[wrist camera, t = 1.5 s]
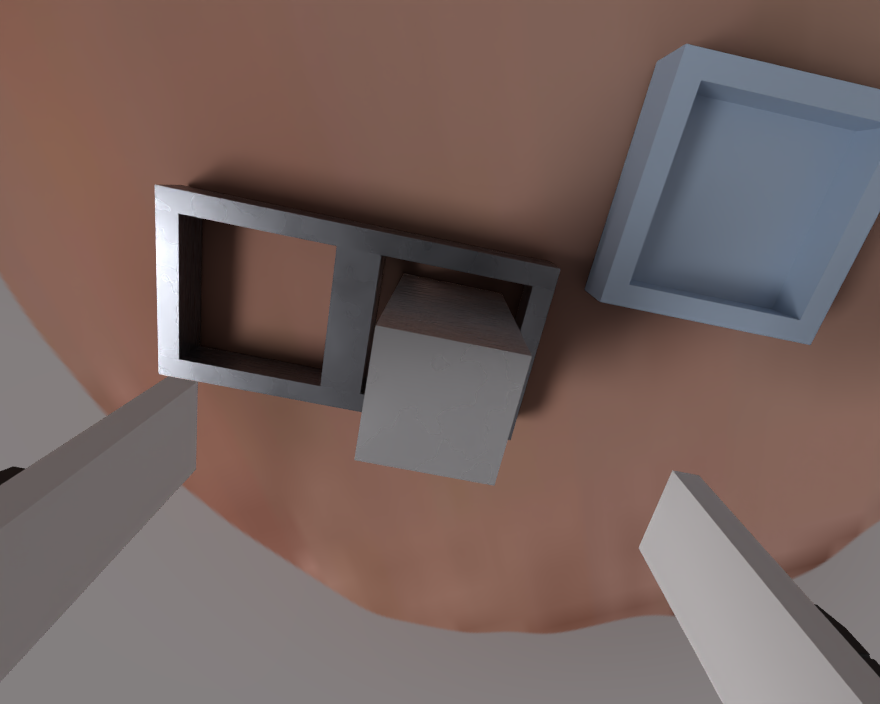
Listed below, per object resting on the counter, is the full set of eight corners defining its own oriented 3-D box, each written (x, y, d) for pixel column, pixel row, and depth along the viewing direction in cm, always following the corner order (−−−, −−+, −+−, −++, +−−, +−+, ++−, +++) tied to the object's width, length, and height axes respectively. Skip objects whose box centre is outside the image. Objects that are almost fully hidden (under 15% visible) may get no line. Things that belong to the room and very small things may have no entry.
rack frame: (181, 184, 21) (154, 184, 19) (551, 261, 22) (560, 268, 20) (181, 359, 24) (158, 373, 22) (505, 421, 25) (510, 440, 23)
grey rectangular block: (403, 273, 22) (375, 325, 14) (501, 293, 23) (531, 356, 14) (388, 364, 24) (354, 460, 16) (479, 381, 24) (494, 485, 16)
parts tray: (656, 61, 19) (686, 43, 17) (877, 112, 19) (936, 102, 17) (584, 289, 22) (600, 301, 20) (773, 328, 23) (810, 345, 20)
